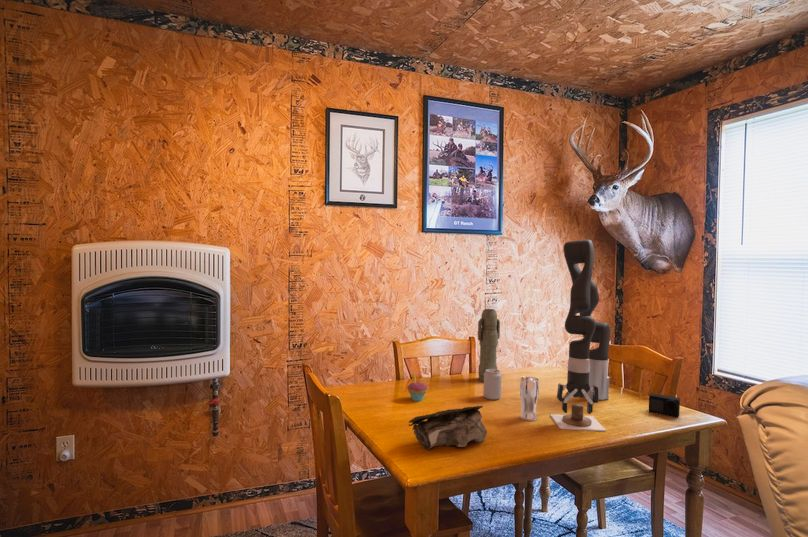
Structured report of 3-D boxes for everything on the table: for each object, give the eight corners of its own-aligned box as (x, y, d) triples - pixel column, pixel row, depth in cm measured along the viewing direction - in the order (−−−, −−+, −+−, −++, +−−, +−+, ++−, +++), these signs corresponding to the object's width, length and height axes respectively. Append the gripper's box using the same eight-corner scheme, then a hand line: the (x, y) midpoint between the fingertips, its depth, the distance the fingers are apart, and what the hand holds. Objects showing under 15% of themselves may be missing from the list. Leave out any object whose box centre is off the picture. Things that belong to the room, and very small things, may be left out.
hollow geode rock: (410, 466, 141) (425, 445, 131) (398, 427, 149) (411, 405, 139) (486, 449, 152) (505, 429, 142) (471, 414, 160) (488, 392, 150)
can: (501, 401, 192) (501, 373, 191) (483, 399, 193) (483, 371, 193) (500, 395, 199) (501, 368, 198) (483, 394, 200) (484, 367, 200)
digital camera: (647, 413, 181) (648, 395, 181) (649, 409, 185) (650, 392, 185) (677, 419, 175) (678, 401, 175) (679, 415, 179) (680, 397, 179)
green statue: (502, 380, 223) (504, 310, 222) (484, 384, 217) (486, 311, 216) (490, 376, 231) (492, 308, 230) (472, 379, 224) (474, 309, 223)
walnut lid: (586, 417, 172) (586, 401, 172) (595, 427, 163) (596, 411, 162) (559, 416, 173) (560, 400, 173) (567, 426, 163) (567, 409, 163)
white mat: (592, 417, 174) (592, 416, 174) (606, 431, 160) (606, 430, 160) (550, 415, 175) (550, 414, 175) (559, 429, 162) (559, 427, 162)
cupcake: (404, 400, 189) (404, 372, 189) (411, 395, 197) (412, 367, 197) (423, 403, 186) (424, 374, 185) (430, 397, 194) (431, 370, 193)
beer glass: (538, 416, 174) (539, 377, 174) (537, 422, 168) (539, 382, 167) (519, 413, 177) (521, 375, 176) (518, 419, 170) (519, 380, 170)
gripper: (594, 367, 171) (593, 410, 171) (556, 366, 172) (554, 408, 172) (602, 372, 163) (600, 417, 163) (561, 371, 164) (559, 415, 165)
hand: (576, 412), depth 168 cm, fingers open, 8 cm apart
